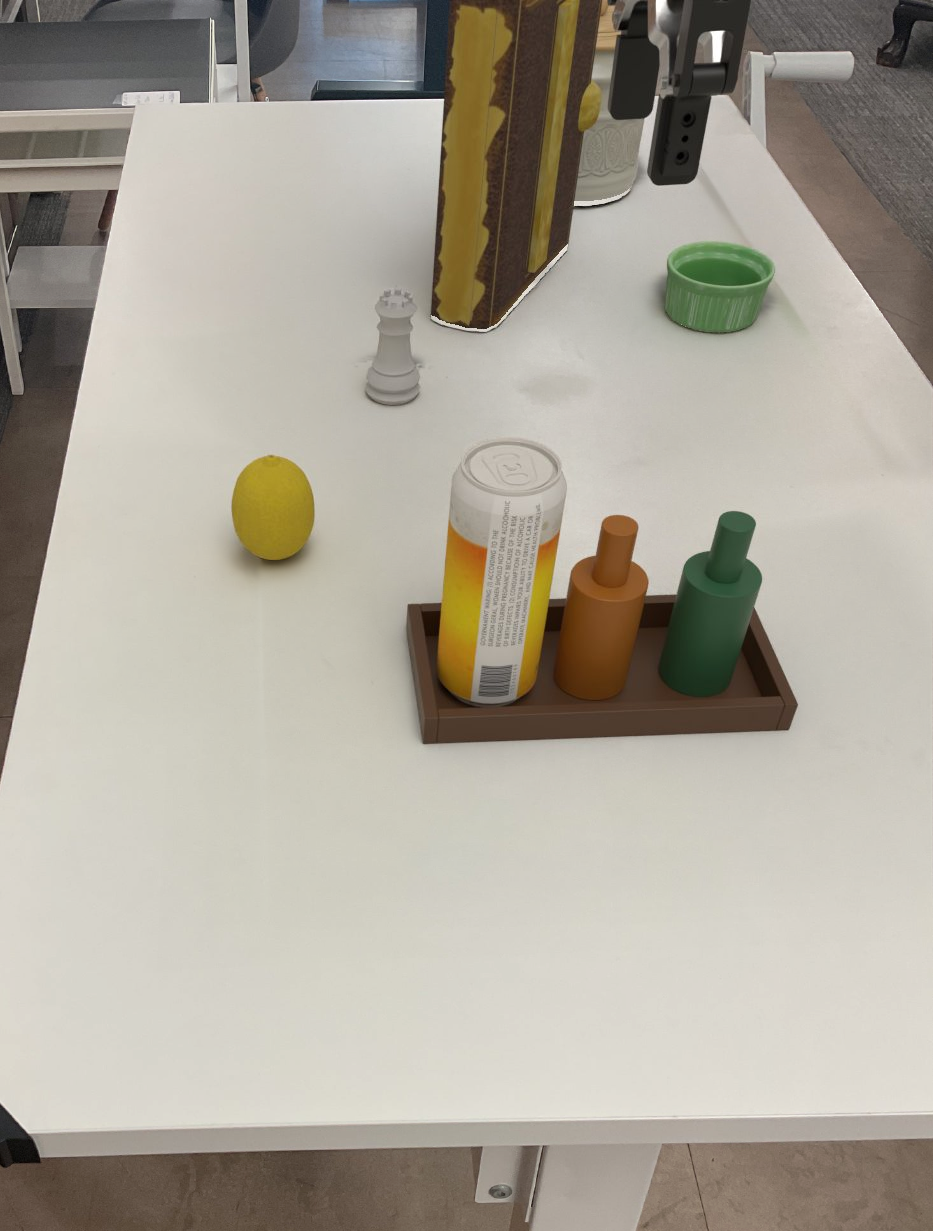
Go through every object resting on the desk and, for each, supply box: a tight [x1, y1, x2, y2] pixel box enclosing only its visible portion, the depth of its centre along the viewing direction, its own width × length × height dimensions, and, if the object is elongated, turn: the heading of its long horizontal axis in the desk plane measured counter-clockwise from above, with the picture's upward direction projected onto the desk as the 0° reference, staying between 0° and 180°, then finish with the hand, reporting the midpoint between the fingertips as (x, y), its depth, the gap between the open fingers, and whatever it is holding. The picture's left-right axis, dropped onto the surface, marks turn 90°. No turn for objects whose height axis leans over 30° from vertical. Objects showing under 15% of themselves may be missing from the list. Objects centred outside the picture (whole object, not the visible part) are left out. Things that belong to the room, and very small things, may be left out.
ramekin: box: [663, 240, 776, 334], centre depth 108 cm, size 9×9×4 cm
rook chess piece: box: [364, 287, 421, 406], centre depth 98 cm, size 4×4×8 cm
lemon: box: [230, 454, 316, 561], centre depth 83 cm, size 6×6×8 cm
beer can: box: [437, 436, 568, 707], centre depth 71 cm, size 6×6×15 cm
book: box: [430, 0, 602, 329], centre depth 106 cm, size 22×8×25 cm, turn 152°
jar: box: [574, 0, 646, 201], centre depth 123 cm, size 13×13×18 cm
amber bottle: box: [554, 514, 650, 701], centre depth 73 cm, size 4×4×11 cm
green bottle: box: [658, 510, 763, 697], centre depth 73 cm, size 4×4×11 cm
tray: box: [405, 593, 799, 745], centre depth 76 cm, size 22×11×3 cm, turn 93°
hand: (648, 147), depth 62 cm, fingers open, 8 cm apart
